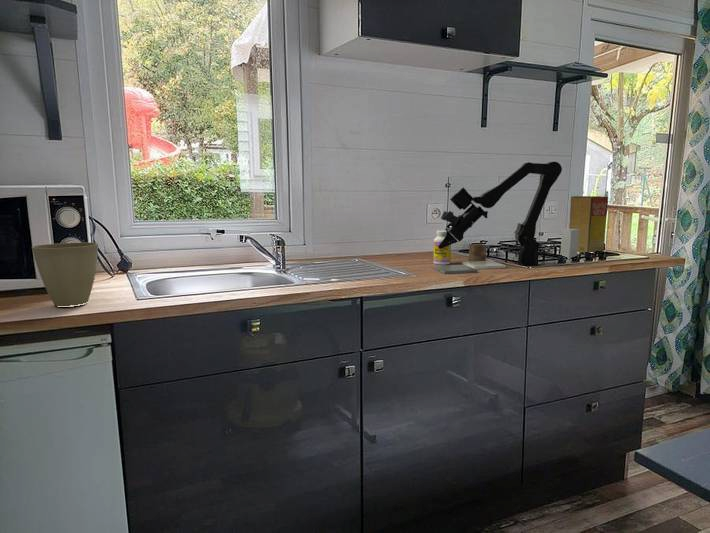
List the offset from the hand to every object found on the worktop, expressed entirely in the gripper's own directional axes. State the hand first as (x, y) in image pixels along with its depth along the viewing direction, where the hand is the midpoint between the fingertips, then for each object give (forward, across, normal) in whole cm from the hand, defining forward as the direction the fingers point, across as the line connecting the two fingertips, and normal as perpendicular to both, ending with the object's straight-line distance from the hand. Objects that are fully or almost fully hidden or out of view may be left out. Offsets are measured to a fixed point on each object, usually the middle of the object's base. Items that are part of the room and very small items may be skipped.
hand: (438, 246), depth 191 cm
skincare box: (-33, -18, +43) cm, 57 cm away
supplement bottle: (+4, 0, +6) cm, 7 cm away
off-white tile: (-7, +4, +16) cm, 18 cm away
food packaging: (-42, -38, +51) cm, 76 cm away
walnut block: (-6, -6, +16) cm, 18 cm away
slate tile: (+1, +16, +8) cm, 18 cm away
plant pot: (+74, +78, -64) cm, 125 cm away
